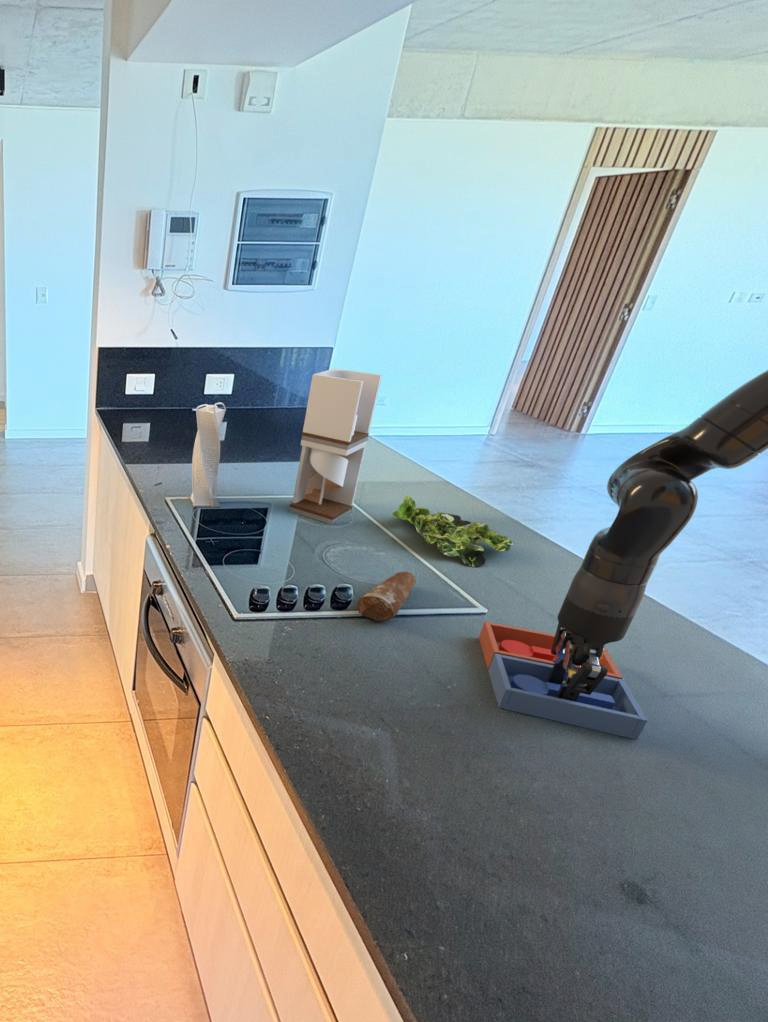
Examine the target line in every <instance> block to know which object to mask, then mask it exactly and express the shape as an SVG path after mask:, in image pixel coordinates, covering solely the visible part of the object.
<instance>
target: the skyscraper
mask: <svg viewBox="0 0 768 1022" xmlns="http://www.w3.org/2000/svg"><path fill="white" fill-rule="evenodd" d="M218 405H222V407H223V408H219V407H218ZM226 412H227V407H226V405H225V404H224V403H223V402H220V401H217V402H215V403H214V404H208V403H204V404H200V405H197V407H196V408H195V414H196V424H197V425H196V427H197V432H196V435H195V440H194V444H193V450H192V461H191V486H192V487H191V488H192V490H191V491H192V492H191V495H188V498H189V500H190V503H191V505H192V507H193V508H221V504H220V503H219V501H218V499H217V497H216V492H217V486H218V485H217V478H218V472H219V465H220V460H221V459H220V458H221V438H220V437H221V436H220V428H221V426H222V423H223V420H224V417H225V414H226Z"/></svg>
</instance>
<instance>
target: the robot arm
mask: <svg viewBox="0 0 768 1022" xmlns="http://www.w3.org/2000/svg"><path fill="white" fill-rule="evenodd" d="M766 450H768V369H767V370H764V371H763V372H761V373H759V374H757V375H756V376H754V377H753V378H751V379H750V380H747V382H745V383H743V384H742V385H740V386H739V387H737V388H736V389H734V390H733V391H732V392H731V393H729V394H727V395H726V396H725V397H724V398H722V399H721V400H719V401H718V402H717V403H716V404H713V406H711V407H710V408H709V409H708V410H706V411H704V412H703V413H702V414H701V415H700V416H698V417H697V418H696V419H695V420H693V421H692V422H691V423H690V424H689V425H686V427H684V428H682V429H680V430H678V431H676V432H674V433H672V434H670V435H668V436H665V437H664V438H661V439H660V440H658V441H656V442H655V443H652V444H650V445H649V446H647V447H645V448H643V449H641V450H640V451H638V452H636V453H634V454H633V455H631V456H630V457H628V458H627V459H626V460H624V461H623V462H622V463H620V464H619V466H618V467H616V468H615V470H614V471H613V472H612V473H611V474H610V476H609V478H608V479H607V484H606V491H607V494H608V496H609V498H610V499H611V500H612V501H613V503H614V504H615V505H616V506H617V507H618V512H617V515H616V517H615V518H614V520H613V521H612V524H611V525H610V526H609V527H605V528H601V529H600V530H599V531H597V532H596V534H595V535H594V536H593V538H592V539H591V542H590V543H589V546H588V548H587V551H586V553H585V556H584V558H583V560H582V563H581V564H580V567H579V569H578V570H577V572H576V573H575V575H574V577H573V579H572V580H571V583H570V585H569V588H568V590H567V592H566V595H565V598H564V600H563V602H562V605H561V607H560V609H559V612H558V614H557V621H558V623H557V627H556V631H555V633H554V634H555V638H554V642H553V646H552V649H551V654H552V655H555V656H554V658H553V660H552V661H553V664H554V666H553V668H552V670H551V673H550V675H549V677H548V680H547V682H549V683H554V684H559V685H561V686H560V689H559V691H558V693H557V695H556V698H561V699H565V700H570V701H574V702H576V701H577V699H578V697H579V695H580V693H583V694H587V695H590V694H591V693H592V692H593V691H594V689H595V688H596V687H597V686H598V685H599V683H600V682H601V681H602V680H603V678H604V677H605V676H606V675H607V673H608V669H607V667H604V666H600V665H599V660H600V659H601V658H602V657H603V653H604V646H605V645H607V644H610V643H616V642H620V641H621V640H623V639H624V638H625V636H626V634H627V632H628V630H629V628H630V626H631V623H632V622H633V619H634V618H635V615H636V614H637V611H638V609H639V607H640V604H641V603H642V601H643V598H644V596H645V592H646V588H647V586H648V583H649V581H650V578H651V576H652V575H653V572H654V570H655V568H656V565H657V563H658V561H659V559H660V556H661V554H662V553H663V552H664V551H665V550H666V549H668V547H669V546H670V545H671V544H672V543H673V542H674V540H675V539H676V538H677V537H678V536H679V534H681V532H682V531H683V530H684V529H685V527H686V526H687V525H688V524H689V523H690V521H691V520H692V517H693V516H694V513H695V511H696V508H697V505H698V500H699V492H698V488H697V487H696V485H695V483H694V482H693V480H695V479H696V478H698V477H700V476H702V475H704V474H706V473H707V472H709V471H712V470H714V469H723V470H724V469H725V470H732V469H737V468H740V467H742V466H743V465H745V464H747V463H748V462H750V461H752V460H753V459H755V458H756V457H758V456H759V455H760V454H762V453H764V452H765V451H766ZM576 665H579V667H575V666H576ZM573 674H575V675H574V676H573V678H572V675H573ZM571 678H572V679H571Z"/></svg>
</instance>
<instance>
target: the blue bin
mask: <svg viewBox="0 0 768 1022" xmlns="http://www.w3.org/2000/svg"><path fill="white" fill-rule="evenodd" d="M553 666H554V665H549V664H544V663H539V662H534V661H530V660H525V659H520V658H515V657H510V656H505V655H500V654H496V653H495V654H494V657H493V659H492V662H491V664H490V667H489V669H487V672H488V675H489V679H490V682H491V686H492V689H493V693H494V696H495V700H496V704H497V703H498V704H497V707H498V708H499V709H502V708H503V709H504V710H507V711H511V712H516V713H520V714H525V715H529V716H533V717H537V718H542V719H546V720H550V721H554V722H559V723H564V724H568V725H572V726H577V727H581V728H585V729H589V730H593V731H594V730H595V731H598V732H601V733H605V734H606V733H607V734H610V735H614V736H619V737H622V738H623V737H624V738H628V739H632V740H638V739H639V738H640V736H641V734H642V732H643V730H644V728H645V726H646V725H647V723H648V721H649V720H648V719H647V717H646V715H645V713H644V712H643V710H642V708H641V706H640V705H639V703H638V701H637V699H636V698H635V696H634V694H633V693H632V692H631V689H630V688H629V686H628V684H627V683H626V681H625V679H624V678H623V679H617V678H613V677H608V676H605V677H604V678H603V680H602V681H601V682H600V683H599V685H598V686H597V687H596V688H595V689H594V691H593V692H596V693H601V694H606V695H610V696H612V698H613V700H614V702H615V705H614V707H613V709H612V710H611V709H606V708H602V707H597V706H592V705H588V704H583V703H579V702H574V701H570V700H565V699H561V698H556V697H552V696H547V695H543V694H538V693H534V692H529V691H524V690H520V689H515V688H511V685H510V684H511V681H512V679H513V677H514V676H515V675H519V674H523V675H529V676H533V677H535V678H538V679H540V680H541V681H543V682H544V683H546V682H547V680H548V677H549V675H550V673H551V670H552V668H553ZM574 675H575V674H573V675H572V678H573V676H574ZM572 678H571V679H572Z"/></svg>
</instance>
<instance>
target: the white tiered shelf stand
mask: <svg viewBox="0 0 768 1022" xmlns="http://www.w3.org/2000/svg"><path fill="white" fill-rule="evenodd" d="M382 377H383V375H382V374H379V373H378V374H377V373H373V372H364V371H357V370H349V369H343V368H334V367H333V368H331V369H327V370H323V371H320V372H317V373H314V374H312V376H311V382H310V388H309V394H308V400H307V405H306V413H305V417H304V422H303V428H302V434H301V439H300V446H301V452H300V458H299V463H298V469H297V474H296V480H295V485H294V492H293V496H292V502H291V503H289V509H288V512H291V513H293V514H296V515H301V516H304V517H307V518H310V519H313V520H317V521H319V522H323V523H325V524H329V525H333V524H335V523H336V522H338V521H339V520H341V519H343V518H344V517H346V516H348V515H350V514H351V513H352V511H353V505H354V502H355V497H356V492H357V487H358V484H359V478H360V475H361V470H362V465H363V462H364V461H363V460H364V457H365V452H366V449H367V443H368V439H369V436H370V430H371V427H372V426H371V425H372V421H373V417H374V413H375V409H376V408H375V407H376V403H377V400H378V394H379V390H380V385H381V381H382Z"/></svg>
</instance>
